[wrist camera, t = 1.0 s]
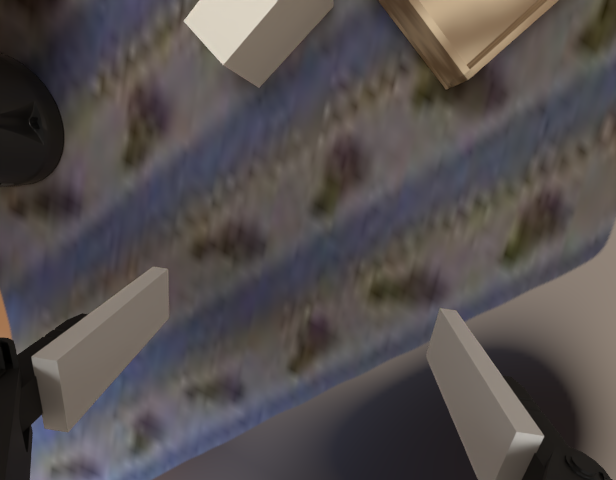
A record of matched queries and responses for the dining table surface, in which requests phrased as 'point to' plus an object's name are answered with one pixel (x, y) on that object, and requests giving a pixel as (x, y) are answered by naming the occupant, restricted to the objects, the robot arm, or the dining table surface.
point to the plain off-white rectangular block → (255, 31)
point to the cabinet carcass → (462, 31)
